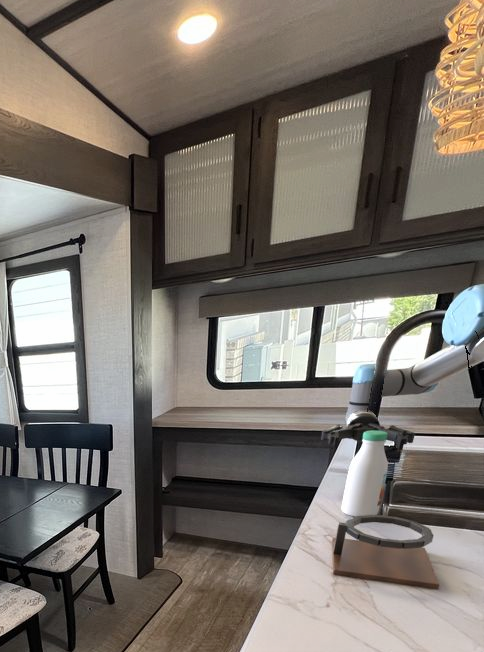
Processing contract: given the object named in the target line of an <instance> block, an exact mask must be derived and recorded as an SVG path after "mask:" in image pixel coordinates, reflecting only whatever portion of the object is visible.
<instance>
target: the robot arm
mask: <svg viewBox="0 0 484 652" xmlns="http://www.w3.org/2000/svg"><path fill="white" fill-rule="evenodd" d="M441 325H442V326H441V333H442V337H443V339H444V342H446V343H447V344H448V345H447V346H446V347H444V348H442V349H440V350H439V351H437V352H435V353H433V354H432V355H430V356H428V357H426V358H424V359H423V360H420V361H419V362H417V363H416V364H414V365H412V366H410V367H405V368H395V369H394V368H393V369H388V367H387V368H386V372H385V378H384V384H383V390H382V395H381V398H383V397H395V396H409V395H410V396H411V395H420V394H425V393H430V392H432V391H433V390H435V388H436V387H437V386H438V385H439V383H440V382H443V381H445V380H446V379H448V378H451V377H452V376H455V375H458V374H459V373H461V372H464V371H465V370H468V369H469V368H468V360H469V367H470V368H472V367H474V366H476V365H478V364H480V363H482V362H484V283H482V284H481V283H480V284H476V285H472V286H470V287H467V288H466V289H464V290H463V291H461V292H460V293H459V294H458V295H457V296H456V297H455V298H454V299H453V300H452V302H451V303H450V304H449V307H448V309H447V310H446V312H445V315H444V317H443V320H442V324H441ZM475 331H476V332H477V334H478V335H479V339H478V336H477V334H476V332H475ZM465 346H466V348H467V350H468V352H469V353H470V355H469V354H468V360H467V353H466V349H465ZM376 364H377V363H364V364H360V365H358V366H357V367H356V369H355V371H354V374H353V378H352V385H351V391H350V398H349V403H348V405H347V406H348V407H347V411H346V413H345V418H344V422H345V424H346V427H343V425H341V424H336V425H335V426H333V427H330V428H327V429H324V430H322V431H321V437H320V440H321V441H328V442H327V444H329V445H333V448H334V449H338V446H339V442H340V441H339V440H344V439H345V440H346V439H349V440H354V441H355V442H362V443H363V441H362V440H363V434H364V432H366V431H384V432H387V434H388V435H387V439H386V441H389V442H394V443H395V446H396V448H397V450H398V451H403V449H404V445H408V444H413V443H414V440H415V435H416V432H414V431H410V430H407V429H403V428H401V427H400V428H399V427H397V426H396V425H389V426H388V428H385V426H383V425H381V423H380V421H379V419H378V416H377V417H376V415H375V414H374V413H373V412H372V411H370V410H368V412H367V408H368V404H369V399H370V393H371V387H372V381H373V377H374V371H375V365H376ZM471 366H472V367H471Z"/></svg>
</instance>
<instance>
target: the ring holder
mask: <svg viewBox="0 0 484 652" xmlns="http://www.w3.org/2000/svg"><path fill="white" fill-rule="evenodd" d="M368 523H369V524H371V523H379V524H389V525H396V526H400V527H403V528H407V529H410V530H412V531H414V532H416V533H418V534H420V535H421V536H420V537H418V538H414V539H403V540H401V539H391V538H383V537H378V536H376V535H375V536H374V535H371V534H367V533H364V532H362V531H361V530H359V529H357V528H356V527H357V526H358V525H360V524H368ZM336 529H337V530H336V535H335V537H332V539H331V552H332V553H331V554H332V574H333V575H336V576H345V577H350V578H358V579H364V580H372V581H379V582H384V583H385V582H386V583H392V584H400V585H407V586H414V587H421V588H427V589H434V590H439V589H440V587H441V585H440V582H439V579H438V577H437V574H436V572H435V569H434V566H433V564H432V562H431V560H430V557H429V555H428V553H427V550H426V548H425V546H427V545H429V544H431V543H432V542H433V539H434V534H433V532H432V530H431V528H430V527H428V526H426V525H424V524H423V523H422V524H421V523H419V522H417V521H414V520H410V519H406V518H402V517H399V516H392V515H391V516H390V515H381V514H377V515H365V516H357V517H355V516H352V517H351V518H349V519H347V520H346V521H345V522H338V524H337V528H336ZM346 534H348V535H349V536H351V537H352V538H353V539H350V538H346Z"/></svg>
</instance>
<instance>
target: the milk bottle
mask: <svg viewBox="0 0 484 652" xmlns="http://www.w3.org/2000/svg"><path fill="white" fill-rule="evenodd" d="M387 435H388V434H387V432H384V431H366V432H364V434H363V440H362V441H363V442H362V444H361V447H360V449H359V450H358V451H357V452H356V454H355V456H354V457H353V458H352V460H351V462H350V465H349V468H348V472H347V477H346V481H345V486H344V487H345V488H344V492H343V497H342V503H341V508H340V509H341V512H342V513H343V514H345V515H348V516H350V517H357V516H365V515H379V512H380V508H381V503H382V499H383V495H384V490H385V485H386V481H387V476H388V469H389V463H388V458H387V456H386V452H385V443H387V440H386V439H387Z"/></svg>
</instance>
